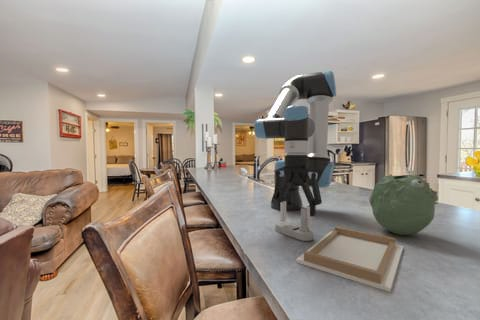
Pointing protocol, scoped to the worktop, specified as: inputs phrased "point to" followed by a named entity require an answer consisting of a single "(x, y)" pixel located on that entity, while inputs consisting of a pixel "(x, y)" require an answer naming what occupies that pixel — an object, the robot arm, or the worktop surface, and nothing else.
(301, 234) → the electronic device
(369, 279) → the wooden framed canvas
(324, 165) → the robot arm
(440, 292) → the worktop surface
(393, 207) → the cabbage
